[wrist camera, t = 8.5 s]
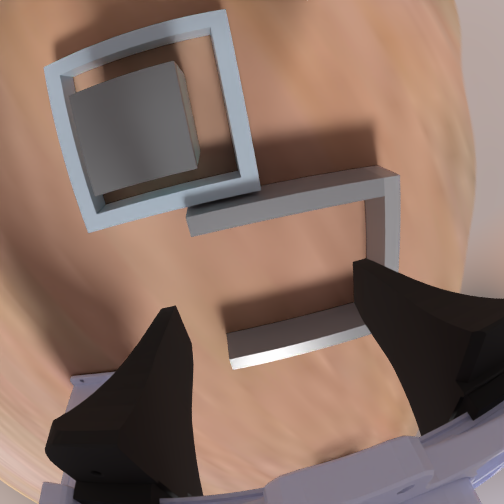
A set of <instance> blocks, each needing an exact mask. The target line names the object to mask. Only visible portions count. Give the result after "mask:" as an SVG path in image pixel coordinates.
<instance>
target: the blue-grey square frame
mask: <svg viewBox="0 0 504 504" xmlns="http://www.w3.org/2000/svg"><path fill="white" fill-rule="evenodd" d="M207 35H210V36H211V41H212V46H213V51H214V55H215V60H216V65H217V70H218V75H219V80H220V85H221V90H222V94H223V99H224V104H225V109H226V114H227V119H228V124H229V129H230V134H231V139H232V144H233V148H234V153H235V158H236V163H237V168H238V171H234V172H230V173H225V174H220V175H216V176H212V177H207V178H203V179H199V180H195V181H190V182H186V183H182V184H178V185H174V186H170V187H167V188H163V189H159V190H155V191H151V192H148V193H144V194H140V195H137V196H133V197H130V198H126V199H123V200H119V201H116V202H112V203H109V204H105V200H104V197H103V194H101V195H98V196H95V195H94V192H93V189H92V185H91V182H90V179H89V175H88V172H87V169H86V165H85V162H84V158H83V154H82V151H81V147H80V143H79V139H78V135H77V131H76V127H75V123H74V118H73V114H72V109H71V105H70V100H69V96H70V95H72V94H74V93H76V91H75V86H74V81H73V77H74V76H77V75H79V74H81V73H84V72H86V71H89V70H91V69H94V68H96V67H99V66H101V65H104V64H107V63H110V62H112V61H115V60H118V59H121V58H124V57H127V56H130V55H133V54H136V53H140V52H143V51H146V50H150V49H153V48H157V47H160V46H164V45H168V44H172V43H176V42H180V41H184V40H188V39H193V38H197V37H202V36H207ZM44 72H45V78H46V84H47V89H48V94H49V99H50V104H51V109H52V113H53V118H54V122H55V126H56V131H57V135H58V139H59V142H60V146H61V150H62V154H63V157H64V161H65V164H66V168H67V171H68V174H69V178H70V181H71V184H72V187H73V190H74V194H75V197H76V200H77V203H78V206H79V208H80V211H81V214H82V217H83V220H84V223H85V225H86V228H87V231H88V233H91V232H94V231H98V230H101V229H105V228H108V227H112V226H115V225H119V224H123V223H126V222H130V221H134V220H137V219H141V218H145V217H149V216H153V215H157V214H161V213H164V212H168V211H172V210H177V209H181V208H185V207H189V206H193V205H197V204H201V203H206V202H210V201H214V200H219V199H223V198H228V197H232V196H237V195H241V194H246V193H251V192H255V191H260V190H261V186H260V181H259V175H258V170H257V164H256V159H255V154H254V148H253V143H252V138H251V133H250V127H249V122H248V117H247V112H246V107H245V101H244V96H243V91H242V86H241V81H240V76H239V71H238V66H237V61H236V57H235V52H234V47H233V42H232V37H231V32H230V28H229V23H228V18H227V13H226V9H222V10H216V11H211V12H205V13H200V14H195V15H190V16H186V17H181V18H177V19H173V20H169V21H165V22H161V23H158V24H154V25H151V26H147V27H144V28H140V29H137V30H134V31H131V32H128V33H125V34H122V35H119V36H116V37H113V38H110V39H108V40H105V41H102V42H100V43H97V44H95V45H92V46H90V47H87V48H85V49H82V50H80V51H78V52H75V53H73V54H71V55H68V56H66V57H64V58H62V59H60V60H58V61H56V62H54V63H51V64H49V65H47V66H45V67H44Z"/></svg>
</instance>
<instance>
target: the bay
mask: <svg viewBox="0 0 504 504" xmlns="http://www.w3.org/2000/svg"><path fill="white" fill-rule="evenodd" d="M362 200H365V210H366V244H367V259H369V260H372V261H374V262H377V263H379V264H381V265H383V266H385V267H387V268H390V269H392V270H394V271H396V272H398V269H399V250H400V175H398V174H396V173H394V172H392V171H390V170H387V169H385V168H383V167H380V166H378V165H376V166H369V167H363V168H356V169H350V170H344V171H338V172H332V173H326V174H321V175H315V176H309V177H304V178H299V179H293V180H288V181H283V182H278V183H273V184H268V185H263V186H261V190H260V191H255V192H251V193H246V194H241V195H237V196H232V197H228V198H223V199H219V200H214V201H210V202H206V203H201V204H197V205H193V206H189V207H188V209H187V214H186V220H187V224H188V227H189V231H190V234H191V237H194V236H198V235H202V234H207V233H211V232H215V231H220V230H224V229H229V228H233V227H237V226H242V225H246V224H251V223H256V222H260V221H265V220H269V219H274V218H279V217H283V216H288V215H293V214H298V213H302V212H307V211H312V210H317V209H322V208H327V207H332V206H337V205H342V204H347V203H352V202H357V201H362ZM369 334H371V332H370V331H369V329H368V328H367V326H366V325H365V323H364V322H363V320H362V318H361V316H360V314H359V312H358V310H357V308H356V306H355V303H354V302H353V303H350V304H346V305H342V306H339V307H335V308H331V309H328V310H324V311H320V312H316V313H313V314H309V315H305V316H301V317H297V318H293V319H289V320H285V321H280V322H276V323H272V324H268V325H263V326H259V327H255V328H250V329H246V330H241V331H236V332H232V333H227V342H228V351H229V360H230V363H231V366H232V368H233V370H234V369H239V368H244V367H249V366H254V365H258V364H263V363H267V362H271V361H276V360H280V359H284V358H288V357H292V356H296V355H300V354H304V353H308V352H311V351H315V350H319V349H322V348H326V347H330V346H333V345H337V344H340V343H343V342H347V341H350V340H353V339H357V338H360V337H363V336H366V335H369Z"/></svg>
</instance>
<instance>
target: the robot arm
mask: <svg viewBox="0 0 504 504" xmlns="http://www.w3.org/2000/svg"><path fill="white" fill-rule="evenodd" d="M353 281H354V303H355V306H356V308H357V310H358V312H359V314H360V316H361V318H362V320H363V322H364V323H365V325H366V326H367V328H368V329H369V331H370V332H371V334H372V335H373V337H374V338H375V340H376V341H377V343H378V344H379V346H380V347H381V349H382V350H383V352H384V353H385V355H386V356H387V358H388V359H389V361H390V363H391V364H392V366H393V368H394V370H395V372H396V374H397V376H398V378H399V380H400V382H401V384H402V387H403V389H404V391H405V394H406V396H407V398H408V400H409V403H410V405H411V408H412V411H413V413H414V416H415V419H416V421H417V424H418V427H419V430H420V433H421V437H415V436H401V437H397V438H394V439H391V440H388V441H385V442H383V443H380V444H378V445H375V446H372V447H370V448H367V449H364V450H361V451H359V452H356V453H353V454H350V455H347V456H344V457H341V458H338V459H334V460H331V461H328V462H324V463H321V464H318V465H314V466H310V467H307V468H303V469H299V470H296V471H293V472H290V473H287V474H284V475H281V476H279V477H277V478H275V479H274V480H272V481H271V482H269V483H268V484H267V485H266V486H265V487H264V488H259V489H253V490H247V491H241V492H234V493H226V494H218V495H209V496H203V492H202V488H201V483H200V478H199V472H198V466H197V460H196V453H195V445H194V437H193V427H192V388H193V352H192V343H191V341H190V338H189V336H188V334H187V331H186V329H185V327H184V324H183V322H182V319H181V317H180V315H179V312H178V310H177V307H176V306H172V307H167V308H162V309H161V310H160V312H159V313H158V314H157V316H156V318H155V319H154V321H153V322H152V324H151V325H150V327H149V328H148V330H147V331H146V333H145V334H144V336H143V337H142V339H141V340H140V342H139V343H138V344H137V346H136V347H135V348H134V350H133V351H132V352H131V354H130V355H129V356H128V358H127V359H126V360H125V361H124V363H123V364H122V365H121V366H120V367H119V368H118V370H117V371H116V372H107V373H98V374H88V375H77V376H71V378H70V381H71V383H72V384H73V386H74V387H73V390H72V393H71V396H70V399H69V402H68V405H67V409H66V412H65V414H63V415H62V416H60V417H59V418H57V419H55V420H53V423H52V426H51V429H50V433H49V436H48V440H47V443H46V447H45V453H46V455H47V456H48V458H49V459H50V461H51V462H53V463H54V464H55V465H56V466H57V467H58V468H60V469H61V470H62V471H63V476H62V481H61V484H57V483H51V482H43V485H42V490H41V495H40V500H39V504H482V503H481V501H480V499H479V497H478V495H477V493H476V491H475V490H474V489H475V488H477V487H478V486H479V485H481V484H482V483H484V482H485V481H487V480H488V479H489V478H491V477H492V476H493V475H494V474H496V473H497V472H498V471H500V470H501V469H502V468H504V299H494V298H483V297H476V296H469V295H464V294H459V293H455V292H450V291H447V290H443V289H440V288H437V287H433V286H430V285H427V284H425V283H422V282H420V281H417V280H414V279H412V278H410V277H407V276H405V275H403V274H400V273H398V272H396V271H394V270H392V269H390V268H387V267H385V266H383V265H381V264H379V263H377V262H374V261H372V260H369V259H367V258H366V259H362V260H358V261H355V262H353Z"/></svg>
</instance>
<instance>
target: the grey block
mask: <svg viewBox="0 0 504 504" xmlns="http://www.w3.org/2000/svg"><path fill="white" fill-rule="evenodd" d="M69 100H70V105H71V109H72V114H73V118H74V123H75V127H76V131H77V135H78V139H79V143H80V147H81V151H82V154H83V158H84V162H85V165H86V169H87V172H88V175H89V179H90V182H91V185H92V189H93V192H94V195H95V196H98V195H101V194H105V193H108V192H111V191H115V190H118V189H121V188H125V187H128V186H132V185H135V184H139V183H143V182H146V181H150V180H154V179H157V178H161V177H165V176H169V175H173V174H177V173H181V172H185V171H189V170H193V169H197V167H198V161H199V156H200V146H199V141H198V137H197V132H196V128H195V123H194V118H193V114H192V109H191V104H190V100H189V95H188V90H187V85H186V80H185V75H184V73H183V72H182V71H181V69H180V68H179V67H178V65H177V64H176V63H175V61H170V62H166V63H163V64H159V65H155V66H152V67H148V68H145V69H141V70H138V71H135V72H132V73H129V74H125V75H122V76H119V77H117V78H114V79H111V80H108V81H105V82H102V83H100V84H97V85H94V86H92V87H89V88H87V89H84V90H82V91H79V92H77V93H74V94H72V95H70V96H69Z"/></svg>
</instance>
